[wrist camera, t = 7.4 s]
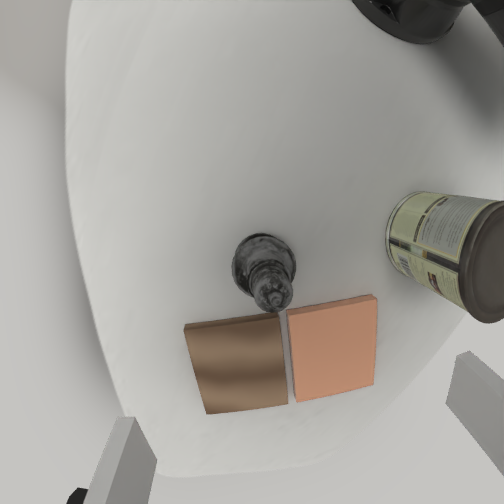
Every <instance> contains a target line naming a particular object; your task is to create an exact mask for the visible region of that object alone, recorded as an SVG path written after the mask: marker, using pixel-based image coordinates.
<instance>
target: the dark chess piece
mask: <svg viewBox="0 0 504 504" xmlns="http://www.w3.org/2000/svg"><path fill="white" fill-rule="evenodd" d="M295 272H296V261H295V258H294V255H293V253H292V251H291V250H290V248H289V247H288V246H287V245H286V244H285V243H284V242H282V241H280V240H278V239H276V238H275V237H273V236H271V235H268V234H263V233H262V234H254V235H251V236H249V237H247V238H246V239H244V240H243V241H242V242H241V243H240V244H239V246H238V248H237V250H236V253H235V256H234V258H233V262H232V275H233V278H234V281H235V283H236V284H237V286H238V287H239V289H240V290H242V291H243V292H244V293H245V294H247V295H249V296H251V297H253V298H254V299H255V302H256V303H257V305H258V306H259V307H260V308H261V309H262V310H264V311H266V312H271V313H274V312H279V311H282V310H283V309H285V308H286V307H287V306H288V305H289V304H290V302H291V300H292V296H293V288H292V285H291V283H292V281H293V279H294V276H295Z"/></svg>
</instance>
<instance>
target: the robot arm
mask: <svg viewBox="0 0 504 504" xmlns="http://www.w3.org/2000/svg"><path fill="white" fill-rule="evenodd" d="M353 2H354V3H355V4H356V6H357V7H358V8H359V9H360V10H361V11H362V13H363V14H364V15H365V16H367V17H368V18H369V19H370V20H371V21H372V22H373V23H375V24H376V25H377V26H379V27H380V28H382V29H383V30H385V31H386V32H388V33H390V34H392V35H394V36H396V37H398V38H400V39H403V40H405V41H409V42H413V43H420V44H425V43H431V42H434V41H436V40H438V39H439V38H441V37H443V36H444V35H446V34H447V33H448V32H449V31H450V30H451V28H452V26H453V24H454V21H455V19H456V18H457V16H458V15H459V13H460V12H461V10H462V9H463V7H464V6H466V5H467V4H469V3H472V4H473V5H474V7H475V8H476V9H477V10H478V12H479V13H480V14H481V16H482V17H483V18H484V20H485V21H486V22H487V24H488V25H489V27H490V28H491V29H492V31H493V32H494V34H495V35H496V36H497V38H498V39H499V41H500V42H501V44H502V45H503V47H504V0H353ZM446 405H447V406H448V407H449V408H450V409H451V411H452V412H453V413H454V414H455V415H456V416H457V418H458V419H459V420H460V422H461V423H462V424H463V425H464V426H465V428H466V429H467V430H468V431H469V433H470V434H471V435H472V436H473V438H474V439H475V440H476V441H477V443H478V444H479V445H480V446H481V448H482V449H483V450H484V451H485V453H486V454H487V455H488V456H489V458H490V459H491V460H492V461H493V463H494V464H495V466H496V467H497V468H498V469H499V471H500V472H501V473H502V475H503V476H504V380H503V379H502V378H501V377H500V376H499V375H497V374H496V373H495V372H494V371H493V370H492V369H491V368H489V367H488V366H487V365H486V364H485V363H484V362H482V361H481V360H480V359H479V358H478V357H477V356H475V355H474V354H473V353H472V352H471V351H467V352H465V353H462V354H460V355H458V356H457V357H456V362H455V367H454V371H453V376H452V380H451V384H450V388H449V392H448V396H447V400H446ZM156 463H157V459H156V457H155V455H154V453H153V451H152V449H151V447H150V446H149V444H148V442H147V440H146V438H145V436H144V434H143V432H142V430H141V428H140V426H139V424H138V422H137V420H136V418H135V417H118V418H117V420H116V422H115V425H114V427H113V429H112V432H111V434H110V436H109V439H108V441H107V444H106V447H105V449H104V451H103V454H102V456H101V459H100V461H99V464H98V466H97V469H96V471H95V474H94V477H93V479H92V482H91V484H90V487H89V489H83V488H77V489H76V490H75V491H74V492H73V493H72V494H71V496H69V499H68V501H67V504H148V499H149V495H150V491H151V486H152V481H153V477H154V472H155V468H156Z"/></svg>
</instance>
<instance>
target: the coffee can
mask: <svg viewBox="0 0 504 504" xmlns="http://www.w3.org/2000/svg"><path fill="white" fill-rule="evenodd" d="M386 247H387V252H388V255H389V258H390V260H391V262H392V263H393V265H394V266H395V268H396V269H397V270H398V271H399V272H401V273H402V274H404V275H406V276H408V277H410V278H412V279H414V280H416V281H417V282H419V283H421V284H422V285H424V286H426V287H428V288H429V289H431V290H433V291H434V292H436V293H438V294H439V295H441V296H443V297H444V298H446V299H448V300H449V301H451V302H453V303H454V304H456V305H458V306H459V307H461V308H462V309H464V310H466V311H467V312H469V313H470V314H471V315H472V316H473V317H474V318H475V319H477V320H478V321H480V322H483V323H494V322H497V321H500V320H501V319H503V318H504V201H496V200H489V199H481V198H474V197H466V196H457V195H447V194H437V193H430V192H415V193H412V194H410V195H408V196H407V197H405V198H404V199H403V200H401V201H400V202H399V204H398V205H397V206H396V207H395V209H394V211H393V213H392V214H391V216H390V219H389V222H388V225H387V230H386Z"/></svg>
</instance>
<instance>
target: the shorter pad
mask: <svg viewBox="0 0 504 504" xmlns="http://www.w3.org/2000/svg"><path fill="white" fill-rule="evenodd" d="M184 334H185V338H186V342H187V346H188V350H189V354H190V358H191V362H192V365H193V369H194V373H195V376H196V380H197V383H198V387H199V390H200V394H201V397H202V401H203V404H204V407H205V411H206V414H218V413H228V412H237V411H245V410H253V409H260V408H266V407H273V406H279V405H285V404H288V395H287V385H286V376H285V367H284V357H283V348H282V339H281V330H280V322H279V316H278V313H277V312H274V313H265V314H259V315H252V316H245V317H238V318H231V319H224V320H216V321H208V322H200V323H192V324H185V327H184Z"/></svg>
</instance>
